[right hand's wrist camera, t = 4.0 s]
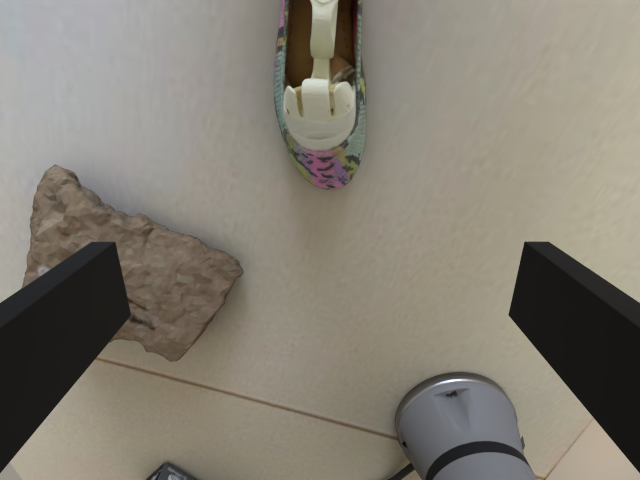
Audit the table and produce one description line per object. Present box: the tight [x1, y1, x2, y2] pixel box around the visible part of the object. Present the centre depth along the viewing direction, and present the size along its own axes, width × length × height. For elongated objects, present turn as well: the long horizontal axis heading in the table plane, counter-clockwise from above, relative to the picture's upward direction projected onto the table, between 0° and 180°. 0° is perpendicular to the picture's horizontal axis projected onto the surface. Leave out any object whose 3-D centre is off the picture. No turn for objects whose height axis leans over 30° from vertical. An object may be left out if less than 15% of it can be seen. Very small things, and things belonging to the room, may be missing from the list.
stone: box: [21, 165, 244, 361], centre depth 40 cm, size 21×15×6 cm
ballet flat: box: [274, 0, 366, 189], centre depth 31 cm, size 8×24×9 cm, turn 0°
